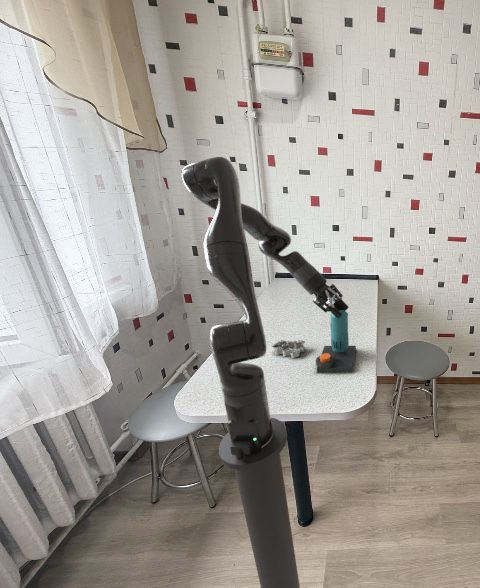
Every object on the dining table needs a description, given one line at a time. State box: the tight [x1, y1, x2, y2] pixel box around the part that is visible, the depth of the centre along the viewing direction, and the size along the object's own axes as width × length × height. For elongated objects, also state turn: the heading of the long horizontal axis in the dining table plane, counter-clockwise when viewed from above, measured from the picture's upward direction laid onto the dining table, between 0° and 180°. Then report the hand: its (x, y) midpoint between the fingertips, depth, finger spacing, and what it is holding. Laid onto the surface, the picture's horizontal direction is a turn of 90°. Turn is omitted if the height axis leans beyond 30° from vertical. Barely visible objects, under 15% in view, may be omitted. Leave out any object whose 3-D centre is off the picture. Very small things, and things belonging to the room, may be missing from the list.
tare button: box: [319, 353, 331, 363], centre depth 116 cm, size 4×4×2 cm
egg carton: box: [271, 339, 306, 359], centre depth 125 cm, size 11×8×4 cm
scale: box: [315, 345, 357, 374], centre depth 121 cm, size 15×13×4 cm
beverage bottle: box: [329, 301, 350, 352], centre depth 120 cm, size 6×7×20 cm
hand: (343, 312), depth 117 cm, fingers closed on beverage bottle, 5 cm apart
